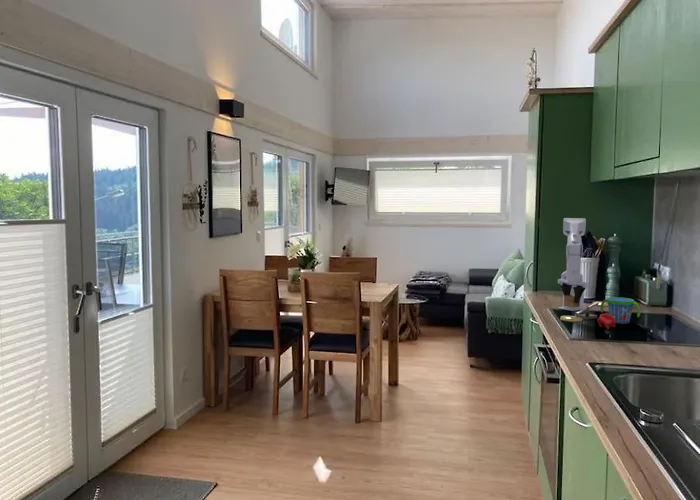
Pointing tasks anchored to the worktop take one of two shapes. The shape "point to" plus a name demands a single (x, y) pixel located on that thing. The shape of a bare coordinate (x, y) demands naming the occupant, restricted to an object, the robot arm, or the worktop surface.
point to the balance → (580, 317)
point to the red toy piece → (606, 320)
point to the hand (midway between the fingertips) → (572, 302)
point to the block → (570, 301)
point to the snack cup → (620, 309)
